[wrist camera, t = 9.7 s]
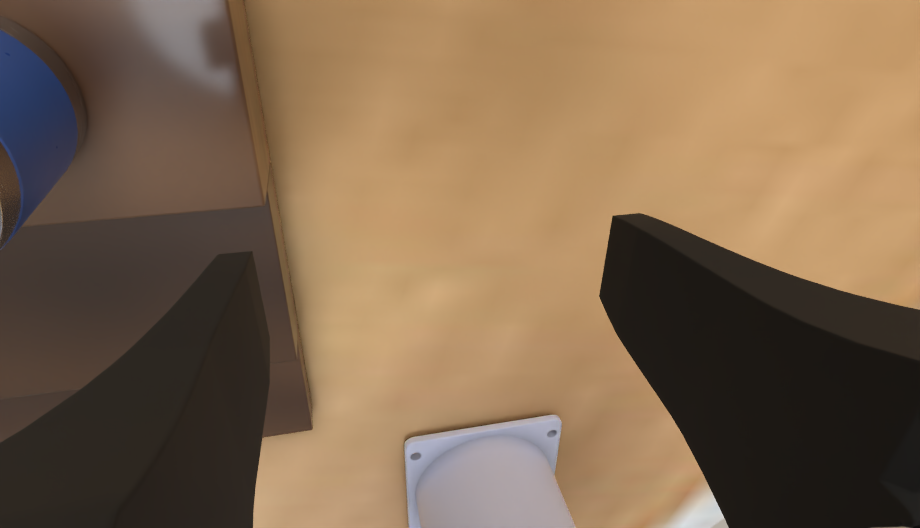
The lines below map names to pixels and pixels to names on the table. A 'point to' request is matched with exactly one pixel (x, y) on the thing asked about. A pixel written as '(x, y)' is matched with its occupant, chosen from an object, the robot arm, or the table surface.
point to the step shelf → (144, 201)
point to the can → (34, 123)
